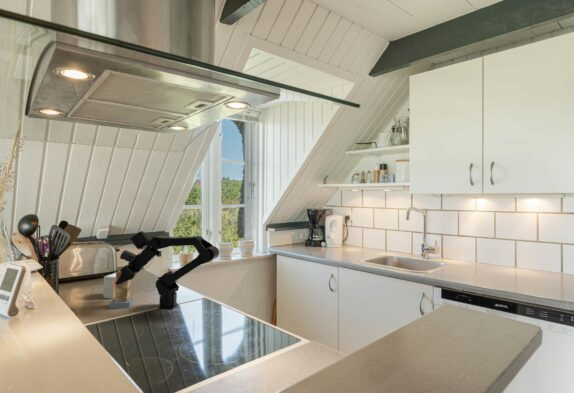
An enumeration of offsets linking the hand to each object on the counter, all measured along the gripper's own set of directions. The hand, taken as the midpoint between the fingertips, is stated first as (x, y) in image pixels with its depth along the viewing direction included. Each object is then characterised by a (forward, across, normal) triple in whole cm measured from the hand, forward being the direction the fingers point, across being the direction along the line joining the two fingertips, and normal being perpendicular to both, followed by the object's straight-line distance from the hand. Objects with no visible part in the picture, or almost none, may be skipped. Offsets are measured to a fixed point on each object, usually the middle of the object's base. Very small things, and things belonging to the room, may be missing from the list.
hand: (118, 281), depth 156 cm
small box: (+12, -14, +4) cm, 19 cm away
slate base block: (+7, 0, +9) cm, 12 cm away
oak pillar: (+5, 0, +7) cm, 9 cm away
